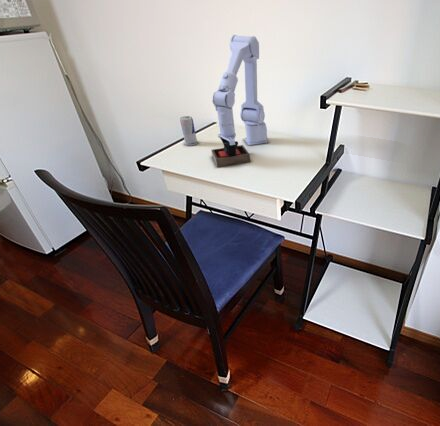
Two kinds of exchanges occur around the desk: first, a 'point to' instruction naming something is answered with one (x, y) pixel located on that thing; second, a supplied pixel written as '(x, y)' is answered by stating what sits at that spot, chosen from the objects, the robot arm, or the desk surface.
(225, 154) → the red block
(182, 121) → the energy drink
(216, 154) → the crate
